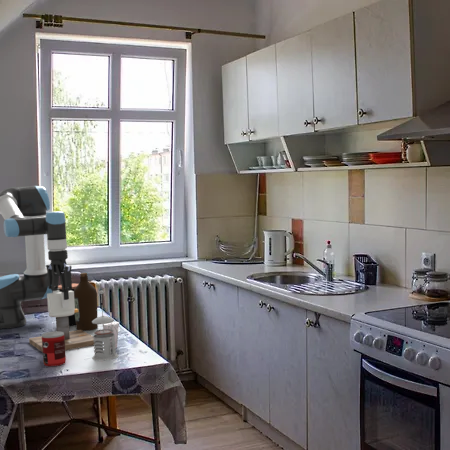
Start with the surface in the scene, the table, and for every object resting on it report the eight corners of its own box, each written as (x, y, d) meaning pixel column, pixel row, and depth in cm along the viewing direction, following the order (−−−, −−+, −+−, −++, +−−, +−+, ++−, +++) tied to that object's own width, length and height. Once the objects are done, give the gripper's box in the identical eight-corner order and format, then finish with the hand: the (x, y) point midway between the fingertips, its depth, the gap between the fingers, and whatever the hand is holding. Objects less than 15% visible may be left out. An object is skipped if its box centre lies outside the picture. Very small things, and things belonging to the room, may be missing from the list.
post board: (29, 343, 269) (27, 315, 268) (80, 334, 281) (79, 307, 280) (44, 353, 250) (42, 323, 250) (99, 344, 262) (97, 315, 261)
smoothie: (106, 350, 251) (104, 314, 250) (102, 347, 257) (99, 312, 256) (122, 348, 254) (120, 312, 253) (117, 344, 260) (115, 309, 259)
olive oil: (96, 324, 298) (93, 270, 296) (101, 329, 289) (98, 273, 287) (73, 327, 294) (69, 272, 292) (77, 332, 284) (73, 275, 283)
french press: (106, 352, 249) (102, 287, 247) (127, 356, 242) (123, 289, 240) (86, 358, 241) (82, 291, 240) (106, 362, 234) (102, 294, 232)
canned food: (45, 361, 240) (43, 332, 239) (67, 359, 240) (65, 330, 240) (41, 367, 232) (39, 336, 231) (64, 365, 233) (62, 335, 232)
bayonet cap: (53, 318, 258) (51, 295, 257) (46, 314, 266) (44, 292, 266) (81, 314, 264) (80, 292, 263) (73, 310, 272) (72, 289, 272)
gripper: (79, 249, 260) (82, 307, 262) (51, 248, 271) (55, 303, 273) (63, 251, 254) (67, 310, 256) (36, 250, 265) (40, 306, 267)
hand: (61, 306), depth 264 cm, fingers closed on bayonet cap, 5 cm apart
